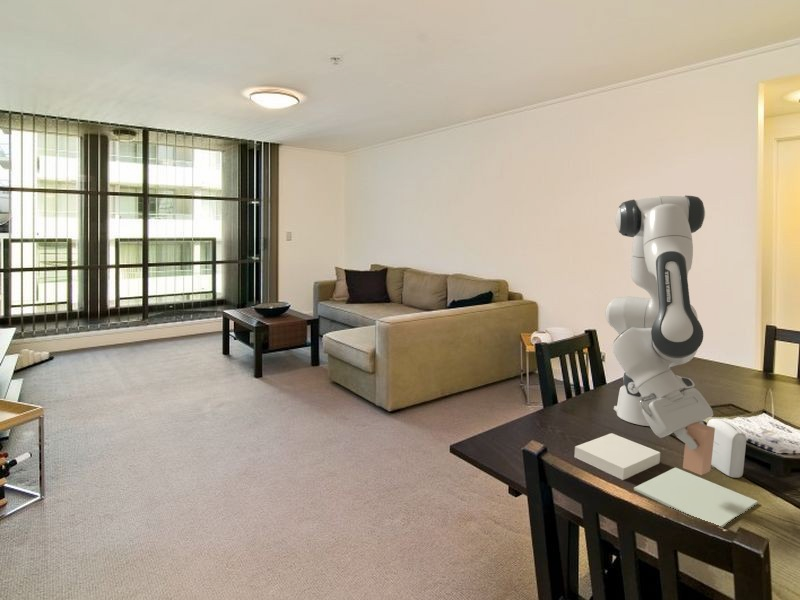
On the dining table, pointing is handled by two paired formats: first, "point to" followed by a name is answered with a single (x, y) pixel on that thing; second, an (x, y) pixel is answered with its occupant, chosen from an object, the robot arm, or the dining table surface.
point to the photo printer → (728, 448)
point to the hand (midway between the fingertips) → (702, 445)
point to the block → (699, 449)
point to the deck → (617, 455)
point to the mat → (696, 496)
